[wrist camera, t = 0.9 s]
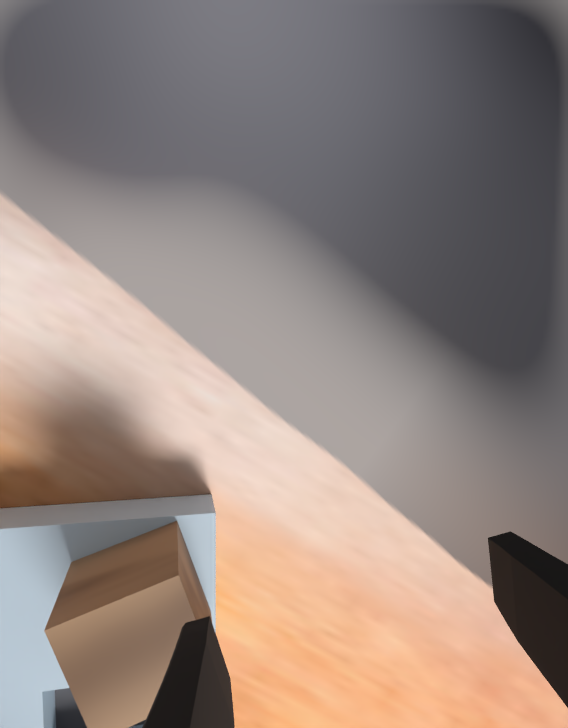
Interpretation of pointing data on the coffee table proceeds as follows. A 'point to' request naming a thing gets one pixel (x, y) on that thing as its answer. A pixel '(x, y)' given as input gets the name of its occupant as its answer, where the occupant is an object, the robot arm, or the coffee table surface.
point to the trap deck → (45, 578)
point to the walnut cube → (124, 624)
